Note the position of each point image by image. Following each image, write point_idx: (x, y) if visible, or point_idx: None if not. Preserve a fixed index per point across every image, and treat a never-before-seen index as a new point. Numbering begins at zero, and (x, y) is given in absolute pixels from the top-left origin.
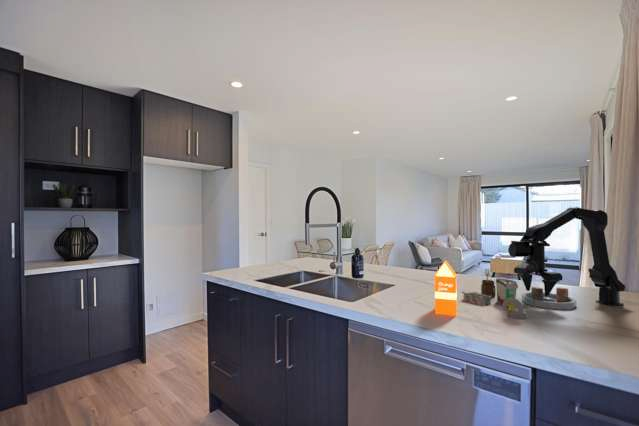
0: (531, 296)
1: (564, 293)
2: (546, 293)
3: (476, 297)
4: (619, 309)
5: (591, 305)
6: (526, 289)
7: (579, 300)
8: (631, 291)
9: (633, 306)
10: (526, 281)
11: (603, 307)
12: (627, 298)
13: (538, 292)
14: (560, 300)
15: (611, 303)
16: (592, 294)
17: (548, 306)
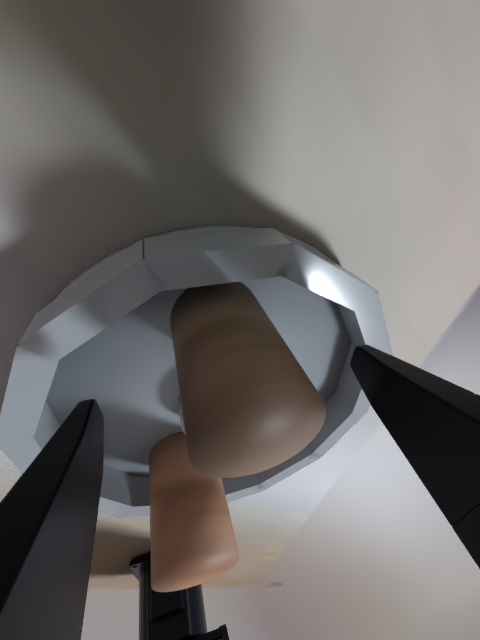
0: (346, 365)
1: (152, 535)
2: (54, 436)
3: None
4: None
5: (143, 520)
6: (375, 350)
7: (230, 507)
8: (274, 586)
9: (125, 588)
10: (467, 441)
11: (106, 542)
12: (220, 582)
13: (189, 386)
14: (167, 456)
15: (143, 568)
16: (284, 541)
17: (36, 316)
